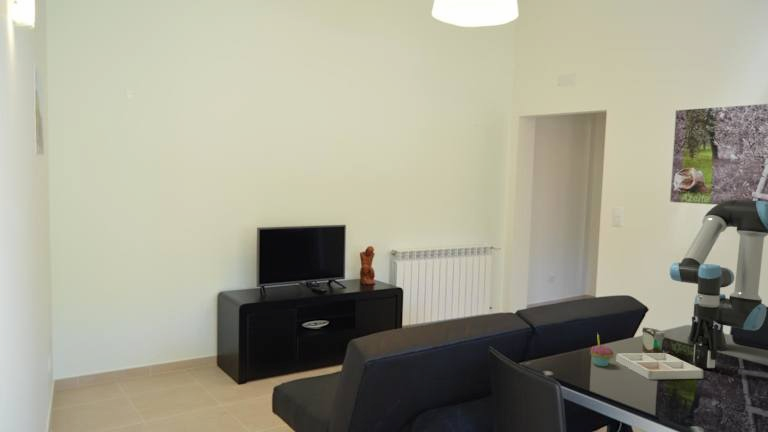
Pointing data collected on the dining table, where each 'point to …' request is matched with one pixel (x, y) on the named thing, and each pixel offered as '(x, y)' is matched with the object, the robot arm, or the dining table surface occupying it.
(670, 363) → the organiser
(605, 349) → the cupcake
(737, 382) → the dining table surface
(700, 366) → the supplement bottle
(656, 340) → the food container
